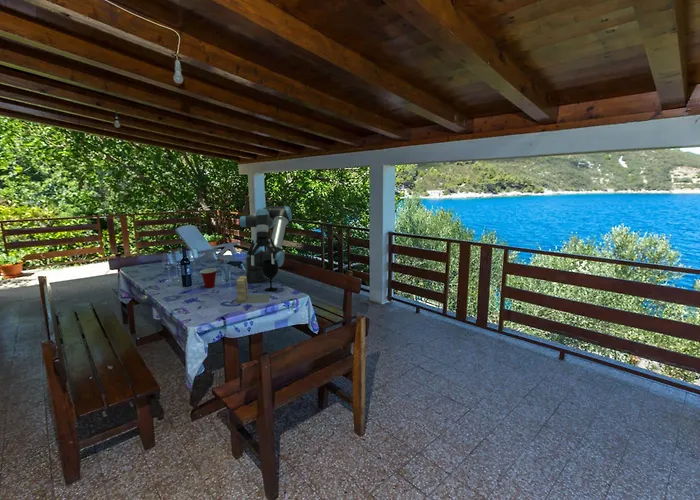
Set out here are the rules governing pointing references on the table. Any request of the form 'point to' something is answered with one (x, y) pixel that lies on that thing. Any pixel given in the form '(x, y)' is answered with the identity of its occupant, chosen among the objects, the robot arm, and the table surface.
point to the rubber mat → (255, 299)
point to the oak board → (242, 288)
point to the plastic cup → (209, 277)
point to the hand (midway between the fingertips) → (262, 264)
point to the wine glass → (270, 272)
